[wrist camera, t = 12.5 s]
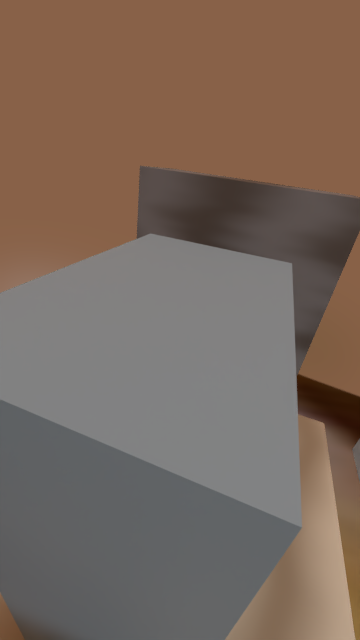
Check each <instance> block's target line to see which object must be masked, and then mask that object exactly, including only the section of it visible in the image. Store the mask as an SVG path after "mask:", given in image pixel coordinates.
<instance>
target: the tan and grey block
mask: <svg viewBox="0 0 360 640" xmlns="http://www.w3.org/2000/svg"><path fill="white" fill-rule="evenodd" d="M359 231H360V197H356V196H352V195H345V194H339V193H332V192H325V191H319V190H312V189H305V188H299V187H291V186H285V185H278V184H271V183H265V182H258V181H251V180H244V179H237V178H231V177H224V176H217V175H211V174H204V173H197V172H190V171H183V170H176V169H169V168H158V167H147V166H140V180H139V201H138V223H137V239H138V238H140V237H143V236H146V235H148V234H155V235H160V236H165V237H170V238H174V239H179V240H184V241H189V242H193V243H198V244H203V245H207V246H212V247H217V248H222V249H226V250H231V251H236V252H241V253H245V254H250V255H255V256H260V257H264V258H269V259H274V260H278V261H283V262H288V263H292V274H293V300H294V327H295V353H296V377H297V374H298V372H299V370H300V367H301V365H302V363H303V361H304V358H305V356H306V354H307V351H308V349H309V347H310V344H311V342H312V340H313V337H314V335H315V333H316V330H317V328H318V326H319V324H320V321H321V319H322V317H323V314H324V312H325V310H326V307H327V305H328V303H329V301H330V298H331V296H332V294H333V291H334V289H335V287H336V284H337V282H338V280H339V277H340V275H341V273H342V270H343V268H344V266H345V263H346V261H347V259H348V256H349V254H350V252H351V250H352V247H353V245H354V243H355V240H356V238H357V236H358V234H359ZM298 433H299V459H300V485H301V512H302V529H301V530H300V531H299V533H298V534H297V536H296V537H295V539H294V540H293V542H292V543H291V544H290V546H289V547H288V549H287V550H286V552H285V553H284V555H283V556H282V558H281V559H280V560H279V562H278V563H277V565H276V566H275V568H274V569H273V571H272V572H271V574H270V575H269V576H268V578H267V579H266V581H265V582H264V584H263V585H262V587H261V588H260V589H259V591H258V592H257V594H256V595H255V597H254V598H253V600H252V601H251V603H250V604H249V605H248V607H247V608H246V610H245V611H244V613H243V614H242V616H241V617H240V619H239V620H238V621H237V623H236V624H235V626H234V627H233V629H232V630H231V632H230V633H229V634H228V636H227V637H226V639H225V640H355V634H354V627H353V620H352V614H351V607H350V600H349V593H348V586H347V579H346V572H345V565H344V558H343V551H342V544H341V537H340V530H339V523H338V516H337V509H336V502H335V495H334V489H333V482H332V475H331V468H330V461H329V454H328V447H327V440H326V433H325V426H324V423H322V422H319V421H316V420H313V419H310V418H307V417H304V416H301V415H298ZM0 640H25V639H24V637H23V635H22V633H21V631H20V629H19V628H18V626H17V624H16V622H15V620H14V618H13V616H12V614H11V612H10V610H9V608H8V606H7V605H6V603H5V601H4V599H3V597H2V595H1V593H0Z"/></svg>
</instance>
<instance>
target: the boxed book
mask: <svg viewBox="0 0 360 640" xmlns="http://www.w3.org/2000/svg"><path fill="white" fill-rule="evenodd" d="M301 529H302V512H301V485H300V459H299V433H298V406H297V380H296V353H295V327H294V300H293V274H292V263H288V262H283V261H278V260H274V259H269V258H264V257H260V256H255V255H250V254H245V253H241V252H236V251H231V250H226V249H222V248H217V247H212V246H207V245H203V244H198V243H193V242H189V241H184V240H179V239H174V238H170V237H165V236H160V235H155V234H148V235H146V236H143V237H140V238H138V239H135V240H133V241H130V242H128V243H125V244H123V245H121V246H118V247H115V248H113V249H110V250H108V251H105V252H102V253H100V254H97V255H95V256H93V257H90V258H87V259H85V260H82V261H80V262H77V263H75V264H72V265H70V266H67V267H64V268H62V269H60V270H57V271H54V272H52V273H49V274H47V275H44V276H42V277H39V278H37V279H34V280H32V281H29V282H26V283H24V284H21V285H19V286H16V287H14V288H12V289H9V290H6V291H4V292H1V293H0V593H1V595H2V597H3V599H4V601H5V603H6V605H7V606H8V608H9V610H10V612H11V614H12V616H13V618H14V620H15V622H16V624H17V626H18V628H19V629H20V631H21V633H22V635H23V637H24V639H25V640H225V639H226V637H227V636H228V634H229V633H230V632H231V630H232V629H233V627H234V626H235V624H236V623H237V621H238V620H239V619H240V617H241V616H242V614H243V613H244V611H245V610H246V608H247V607H248V605H249V604H250V603H251V601H252V600H253V598H254V597H255V595H256V594H257V592H258V591H259V589H260V588H261V587H262V585H263V584H264V582H265V581H266V579H267V578H268V576H269V575H270V574H271V572H272V571H273V569H274V568H275V566H276V565H277V563H278V562H279V560H280V559H281V558H282V556H283V555H284V553H285V552H286V550H287V549H288V547H289V546H290V544H291V543H292V542H293V540H294V539H295V537H296V536H297V534H298V533H299V531H300V530H301Z"/></svg>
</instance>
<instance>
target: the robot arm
mask: <svg viewBox="0 0 360 640" xmlns="http://www.w3.org/2000/svg"><path fill="white" fill-rule="evenodd" d="M352 450H353V455H354V459H355V463H356V468H357V472H358V477H359V481H360V439H359V440H358V442H357V443H356V445H355V446H354V448H353V449H352Z"/></svg>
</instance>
